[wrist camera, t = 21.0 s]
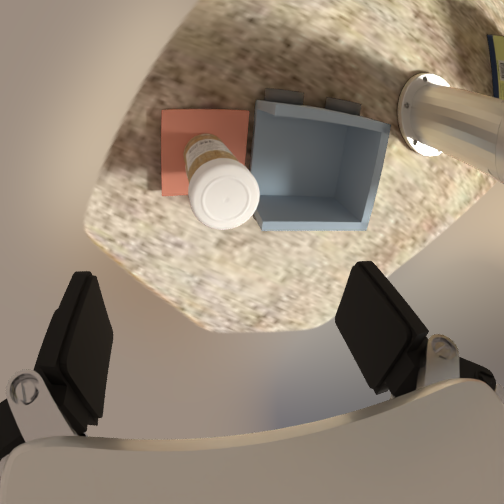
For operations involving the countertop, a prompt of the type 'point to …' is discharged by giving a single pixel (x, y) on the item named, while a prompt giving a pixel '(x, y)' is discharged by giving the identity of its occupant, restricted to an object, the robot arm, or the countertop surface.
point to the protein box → (497, 64)
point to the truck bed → (315, 163)
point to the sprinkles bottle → (218, 184)
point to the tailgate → (188, 126)
